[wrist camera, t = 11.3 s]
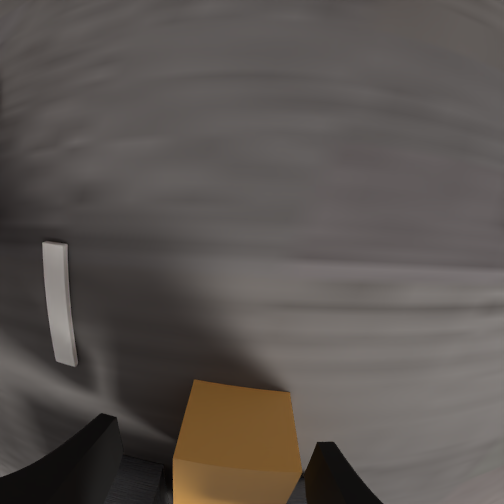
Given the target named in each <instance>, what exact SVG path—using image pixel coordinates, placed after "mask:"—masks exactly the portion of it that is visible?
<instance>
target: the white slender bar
mask: <svg viewBox="0 0 504 504" xmlns="http://www.w3.org/2000/svg"><path fill="white" fill-rule="evenodd" d="M42 246H43V267H44V281H45V292H46V301H47V310H48V317H49V324H50V331H51V337H52V343H53V348H54V354H55V359H56V361H57V362H60V363H63V364H66V365H70V366H73V367H76V366H77V365H78V358H77V352H76V346H75V339H74V331H73V323H72V314H71V303H70V291H69V275H68V245H67V244H64V243H57V242H50V241H46V242H43V243H42Z"/></svg>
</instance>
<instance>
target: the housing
mask: <svg viewBox="0 0 504 504" xmlns="http://www.w3.org/2000/svg"><path fill="white" fill-rule="evenodd" d="M104 504H169V502H168V495H167V488H166V481H165V473H164V465H162V464H157V463H153V462H148V461H144V460H140V459H136V458H132V457H128V456H124V455H122V459H121V462H120V466H119V469H118V472H117V475H116V477H115V479H114V482H113V484H112V486H111V488H110V491H109V493H108V495H107V497H106V499H105V502H104ZM286 504H307V500H306V492H305V478H299V480H298V482H297V484H296V486H295V488H294V490H293V492H292V494H291V495H290V497H289V499H288V501H287V503H286Z"/></svg>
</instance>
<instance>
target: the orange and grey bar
mask: <svg viewBox="0 0 504 504" xmlns="http://www.w3.org/2000/svg"><path fill="white" fill-rule="evenodd" d="M301 474H302V467H301V460H300V454H299V448H298V441H297V435H296V429H295V423H294V416H293V410H292V404H291V398H290V392H281V391H271V390H262V389H254V388H246V387H239V386H232V385H225V384H219V383H213V382H207V381H201V380H196V379H194V382H193V386H192V389H191V393H190V396H189V400H188V404H187V407H186V411H185V415H184V418H183V422H182V426H181V430H180V433H179V437H178V441H177V445H176V448H175V452H174V456H173V504H286V503H287V501H288V499H289V497H290V495H291V494H292V492H293V490H294V488H295V486H296V484H297V482H298V480H299V478H300V476H301Z"/></svg>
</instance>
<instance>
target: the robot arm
mask: <svg viewBox="0 0 504 504" xmlns="http://www.w3.org/2000/svg"><path fill="white" fill-rule="evenodd" d="M123 452H124V450H123V446H122V442H121V437H120V432H119V427H118V422H117V417H114V416H110V415H107V414H103V413H101V414H99V415H98V416H97V417H96V418H95V419H93V420H92V421H91V422H90V423H89V424H88V425H86V426H85V427H84V428H83V429H82V430H80V431H79V432H78V433H77V434H75V435H74V436H73V437H72V438H70V439H69V440H68V441H66V442H65V443H64V444H62V445H61V446H60V447H58V448H57V449H55V450H54V451H52V452H51V453H49V454H48V455H46V456H45V457H43V458H41V459H40V460H38V461H36V462H35V463H33V464H31V465H29V466H27V467H25V468H23V469H21V470H18V471H16V472H14V473H11V474H9V475H6V476H3V477H0V504H104V502H105V499H106V497H107V495H108V493H109V491H110V488H111V486H112V484H113V482H114V479H115V477H116V475H117V472H118V469H119V466H120V462H121V459H122V455H123ZM304 474H305V492H306V500H307V504H383V503H382V502H381V501H380V500H379V499H378V498H377V497H376V496H375V495H374V494H373V493H372V491H371V490H370V489H369V488H368V487H367V486H366V484H365V483H364V482H363V481H362V480H361V478H360V477H359V476H358V475H357V473H356V472H355V471H354V469H353V468H352V467H351V465H350V464H349V463H348V461H347V460H346V458H345V457H344V456H343V454H342V453H341V451H340V450H339V448H338V447H337V445H336V444H335V443H334V442H317V444H316V447H315V449H314V452H313V454H312V457H311V459H310V462H309V464H308V466H307V469H306V471H305V473H304Z"/></svg>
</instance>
